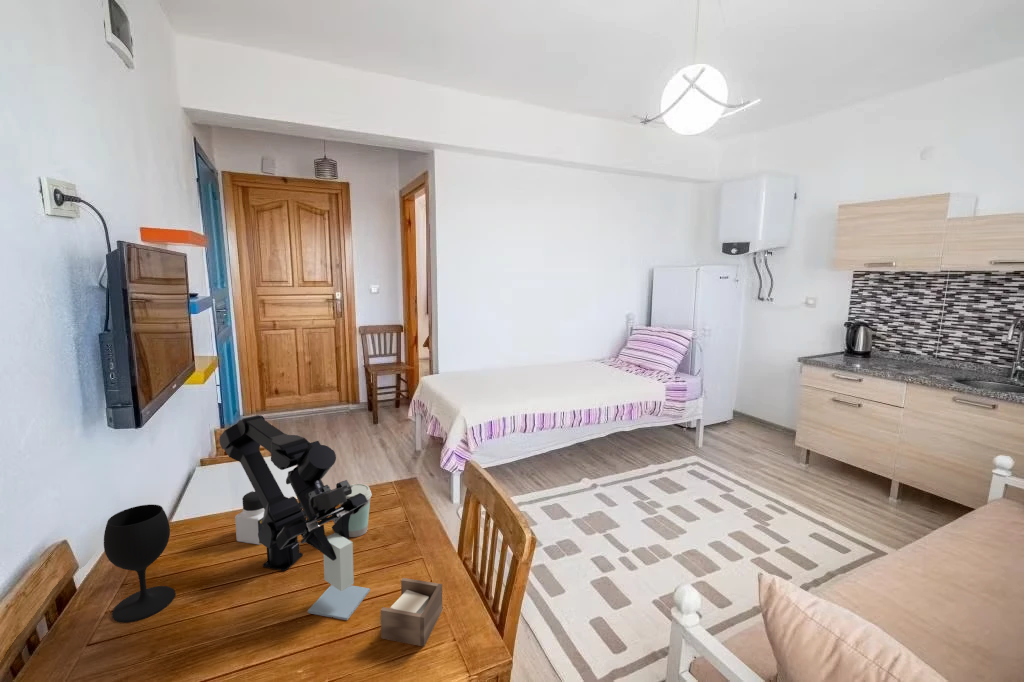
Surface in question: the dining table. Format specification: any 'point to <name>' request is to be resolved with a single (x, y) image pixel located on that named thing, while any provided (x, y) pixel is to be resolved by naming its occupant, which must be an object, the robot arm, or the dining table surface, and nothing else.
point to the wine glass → (138, 557)
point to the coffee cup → (360, 519)
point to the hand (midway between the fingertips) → (342, 555)
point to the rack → (413, 615)
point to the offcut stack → (411, 602)
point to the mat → (339, 602)
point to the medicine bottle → (250, 519)
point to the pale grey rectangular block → (339, 563)
